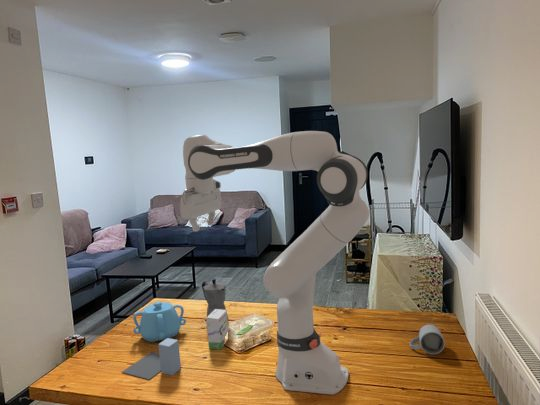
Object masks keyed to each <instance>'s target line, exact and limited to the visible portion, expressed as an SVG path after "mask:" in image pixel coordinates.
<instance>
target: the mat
mask: <svg viewBox="0 0 540 405" xmlns="http://www.w3.org/2000/svg"><path fill="white" fill-rule="evenodd" d="M159 373H161V365H160V356H159V352H155V351H151V352H149V353H147V354H146V355H144V356H143V357H141V358H140V359H139V360H137V361H135V363H133V364H131V365H130V366H128V367H127V368H126V369H124V370H123V371H121V374H126V375H128V376H133V377H136V378H137V377H138V378H141V379H143V380H147V381H151V379H153V378H154V377H155V376H157V375H158V374H159Z"/></svg>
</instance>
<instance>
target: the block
mask: <svg viewBox="0 0 540 405" xmlns="http://www.w3.org/2000/svg"><path fill="white" fill-rule="evenodd" d="M158 353H159V356H160V365H161V372H160V373H161V374H165V375H169V376H174V374H177V373H178V372H179V371H180V370H181V369H182V366H181V354H180V346H179V340H178V339H174V338H171V339H170V338H167V339H163V340H161V342H160V343H158Z"/></svg>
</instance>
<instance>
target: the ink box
mask: <svg viewBox="0 0 540 405" xmlns="http://www.w3.org/2000/svg"><path fill="white" fill-rule="evenodd" d="M227 315H228V311H227V309H226V310H221V309H215V310H214V311H213V312H212V313H211V314H210V315H208V317H207V316H206V318H205V321H206V330H207V340H208V349H209V350H222V349H223V348H224V346H225V345H224V343H225V336H226V334H227V332H228V331H229V323H228V322H229V318H228V319H227ZM225 344H226V343H225Z"/></svg>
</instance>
